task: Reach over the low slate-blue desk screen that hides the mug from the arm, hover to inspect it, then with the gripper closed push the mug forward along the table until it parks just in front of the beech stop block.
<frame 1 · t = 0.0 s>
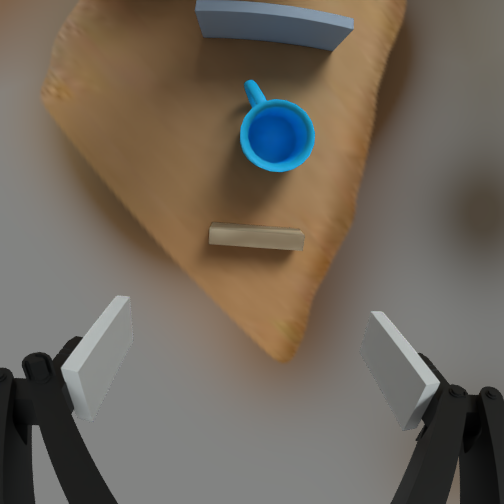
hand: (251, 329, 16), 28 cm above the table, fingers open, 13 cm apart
mug: (264, 126, 40), on the table
screen: (269, 36, 35), on the table
stop block: (255, 232, 43), on the table
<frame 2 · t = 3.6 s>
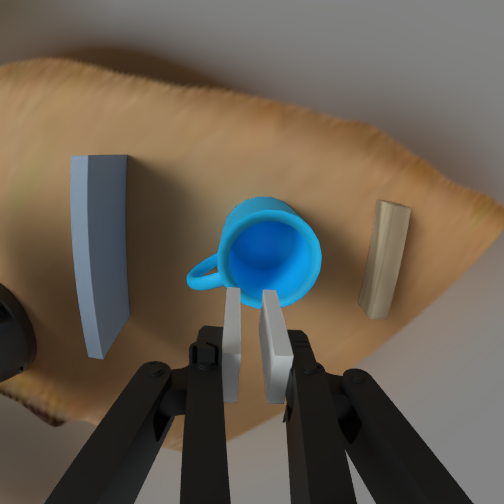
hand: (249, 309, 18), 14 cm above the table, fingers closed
mug: (245, 243, 32), on the table
screen: (119, 239, 31), on the table
stop block: (376, 254, 33), on the table
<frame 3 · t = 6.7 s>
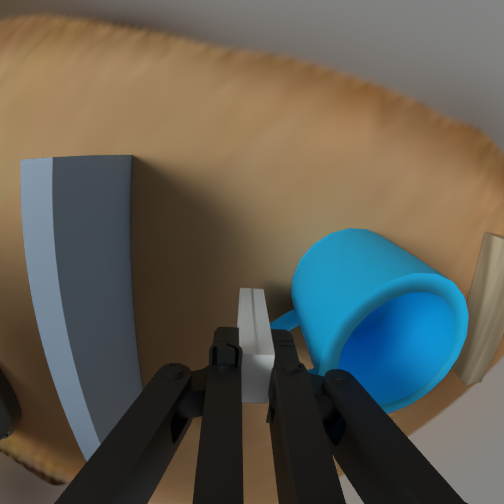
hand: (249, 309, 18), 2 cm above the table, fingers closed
mug: (323, 297, 21), on the table, touching gripper
screen: (121, 291, 20), on the table
stop block: (474, 300, 22), on the table
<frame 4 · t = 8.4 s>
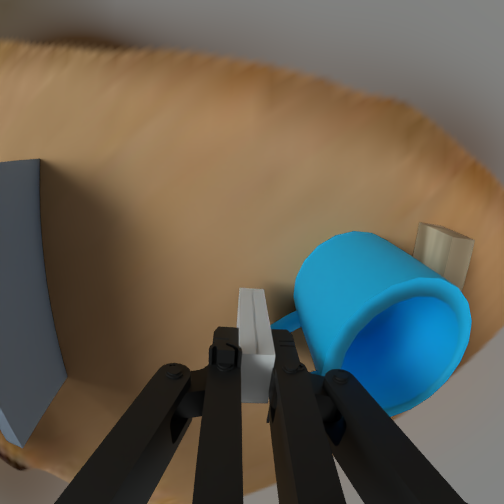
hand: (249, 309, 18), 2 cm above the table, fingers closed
mug: (325, 299, 21), on the table, touching gripper
screen: (38, 281, 19), on the table
stop block: (412, 302, 21), on the table
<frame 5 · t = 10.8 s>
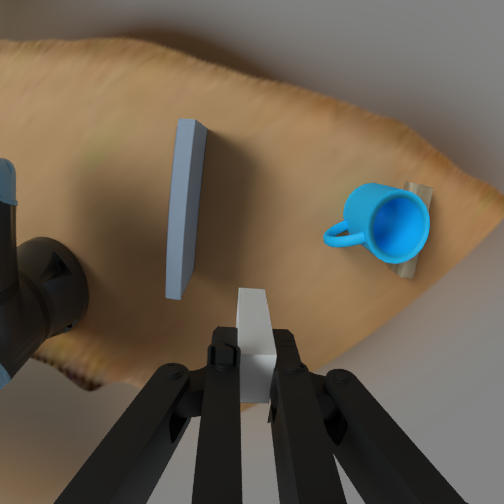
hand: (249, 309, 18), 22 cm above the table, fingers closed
mug: (358, 218, 39), on the table
screen: (193, 200, 38), on the table
stop block: (403, 226, 39), on the table
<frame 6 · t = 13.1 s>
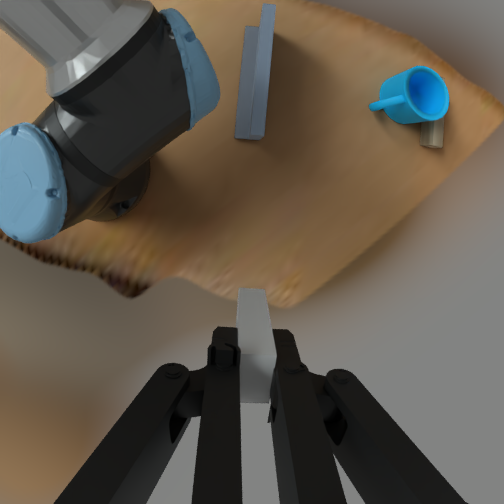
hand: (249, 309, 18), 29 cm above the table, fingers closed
mug: (391, 102, 42), on the table
screen: (259, 81, 41), on the table
stop block: (426, 112, 42), on the table
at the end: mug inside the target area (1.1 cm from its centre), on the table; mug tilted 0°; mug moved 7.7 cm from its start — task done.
